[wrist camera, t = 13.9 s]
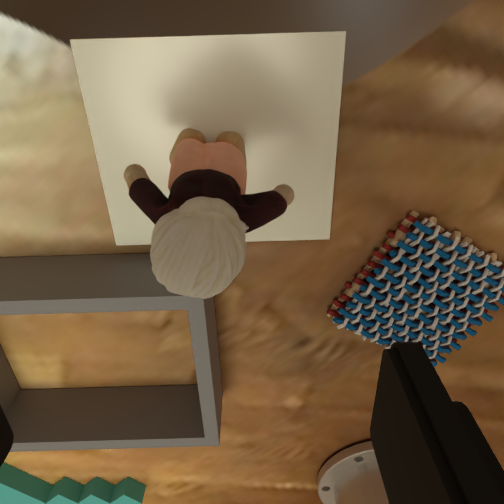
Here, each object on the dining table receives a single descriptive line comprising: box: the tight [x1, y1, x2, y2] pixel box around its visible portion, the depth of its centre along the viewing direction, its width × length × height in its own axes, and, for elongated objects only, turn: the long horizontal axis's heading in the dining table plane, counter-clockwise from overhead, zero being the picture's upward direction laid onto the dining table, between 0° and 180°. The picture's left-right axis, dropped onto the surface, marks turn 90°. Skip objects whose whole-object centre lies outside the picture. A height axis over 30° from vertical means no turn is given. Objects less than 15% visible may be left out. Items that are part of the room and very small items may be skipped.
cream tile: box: [70, 31, 346, 246], centre depth 24 cm, size 14×12×1 cm
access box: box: [0, 253, 223, 452], centre depth 29 cm, size 18×14×5 cm
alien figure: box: [0, 462, 146, 504], centre depth 41 cm, size 20×2×20 cm
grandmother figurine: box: [124, 128, 294, 299], centre depth 18 cm, size 8×4×13 cm, turn 94°
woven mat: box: [327, 210, 504, 367], centre depth 29 cm, size 10×11×2 cm
